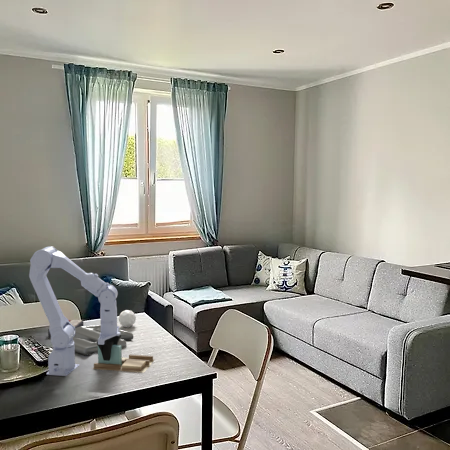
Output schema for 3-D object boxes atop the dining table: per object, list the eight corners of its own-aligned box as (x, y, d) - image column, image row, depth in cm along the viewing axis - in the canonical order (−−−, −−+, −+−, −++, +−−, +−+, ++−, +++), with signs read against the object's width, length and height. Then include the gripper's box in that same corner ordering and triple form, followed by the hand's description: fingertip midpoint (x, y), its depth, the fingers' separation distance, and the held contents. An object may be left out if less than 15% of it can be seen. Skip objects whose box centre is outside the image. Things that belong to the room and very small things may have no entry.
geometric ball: (130, 333, 214) (132, 322, 209) (114, 326, 215) (116, 315, 210) (137, 321, 220) (139, 310, 215) (122, 314, 221) (123, 304, 216)
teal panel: (119, 367, 165) (119, 347, 165) (98, 366, 167) (97, 345, 166) (121, 365, 167) (121, 345, 167) (100, 364, 169) (100, 343, 168)
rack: (144, 375, 161) (144, 368, 161) (92, 371, 164) (92, 364, 164) (154, 362, 173) (154, 355, 173) (106, 358, 176) (106, 352, 176)
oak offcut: (140, 368, 162) (140, 366, 162) (121, 367, 164) (121, 365, 163) (145, 363, 167) (145, 361, 167) (126, 362, 168) (126, 359, 168)
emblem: (48, 342, 180) (77, 320, 207) (48, 355, 180) (78, 332, 208) (118, 345, 177) (139, 323, 205) (119, 358, 177) (139, 334, 205)
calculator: (83, 319, 215) (73, 327, 200) (83, 328, 216) (73, 337, 201) (59, 319, 215) (47, 327, 200) (59, 328, 215) (47, 337, 200)
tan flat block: (140, 371, 162) (140, 368, 162) (121, 369, 164) (121, 367, 164) (145, 365, 167) (145, 363, 167) (126, 364, 168) (126, 362, 168)
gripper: (111, 327, 158) (112, 366, 159) (127, 315, 172) (127, 350, 173) (91, 326, 159) (92, 364, 160) (108, 314, 173) (109, 349, 174)
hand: (109, 357), depth 167 cm, fingers open, 4 cm apart
